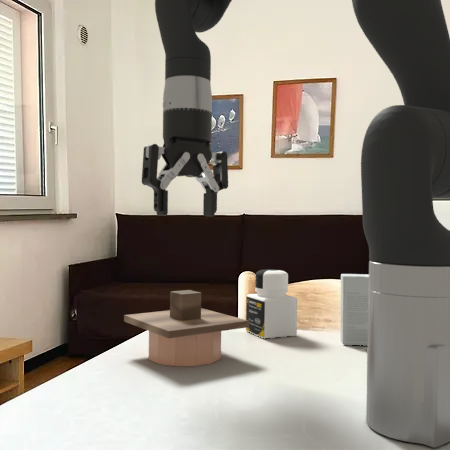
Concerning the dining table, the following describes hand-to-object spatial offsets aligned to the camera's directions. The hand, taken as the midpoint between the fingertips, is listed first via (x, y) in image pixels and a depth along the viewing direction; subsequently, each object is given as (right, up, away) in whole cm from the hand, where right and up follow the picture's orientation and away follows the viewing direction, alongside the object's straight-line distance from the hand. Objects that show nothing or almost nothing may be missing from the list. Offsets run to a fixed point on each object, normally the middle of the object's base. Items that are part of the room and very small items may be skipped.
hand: (186, 215), depth 83 cm
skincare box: (+29, -22, +11) cm, 38 cm away
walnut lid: (0, -17, 0) cm, 17 cm away
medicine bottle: (+15, -22, +17) cm, 32 cm away
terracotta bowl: (0, -22, 0) cm, 22 cm away
